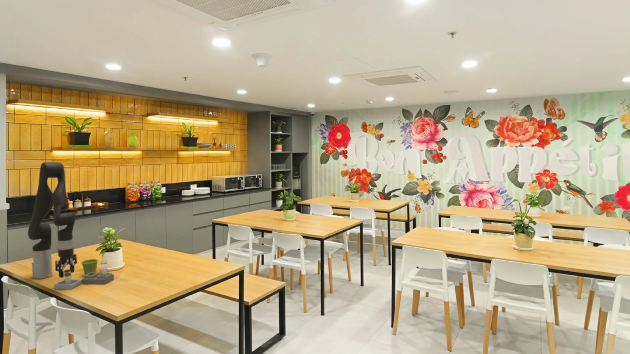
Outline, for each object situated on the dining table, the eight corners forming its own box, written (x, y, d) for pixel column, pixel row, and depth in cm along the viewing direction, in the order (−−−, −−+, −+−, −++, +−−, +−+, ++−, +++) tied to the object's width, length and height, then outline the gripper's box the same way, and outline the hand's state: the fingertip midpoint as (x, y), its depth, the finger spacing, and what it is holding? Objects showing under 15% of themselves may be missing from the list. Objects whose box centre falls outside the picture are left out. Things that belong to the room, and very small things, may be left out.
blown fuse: (63, 286, 216) (62, 271, 215) (67, 284, 219) (66, 269, 218) (68, 286, 216) (68, 271, 215) (72, 284, 219) (72, 269, 218)
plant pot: (79, 277, 232) (78, 264, 231) (84, 272, 241) (83, 259, 240) (96, 276, 235) (95, 262, 234) (100, 271, 244) (100, 258, 243)
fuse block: (81, 284, 221) (81, 276, 221) (91, 278, 230) (91, 271, 230) (104, 284, 220) (104, 277, 220) (113, 279, 229) (113, 271, 229)
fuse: (100, 277, 223) (99, 262, 222) (103, 275, 226) (102, 261, 226) (105, 277, 223) (104, 263, 222) (108, 275, 226) (108, 261, 226)
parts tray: (53, 289, 213) (53, 284, 213) (64, 283, 222) (64, 279, 222) (71, 289, 213) (71, 284, 213) (81, 283, 221) (81, 279, 221)
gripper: (68, 244, 223) (69, 270, 224) (50, 250, 209) (51, 279, 210) (80, 244, 222) (81, 271, 224) (62, 251, 208) (64, 279, 210)
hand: (66, 274), depth 217 cm, fingers open, 8 cm apart
